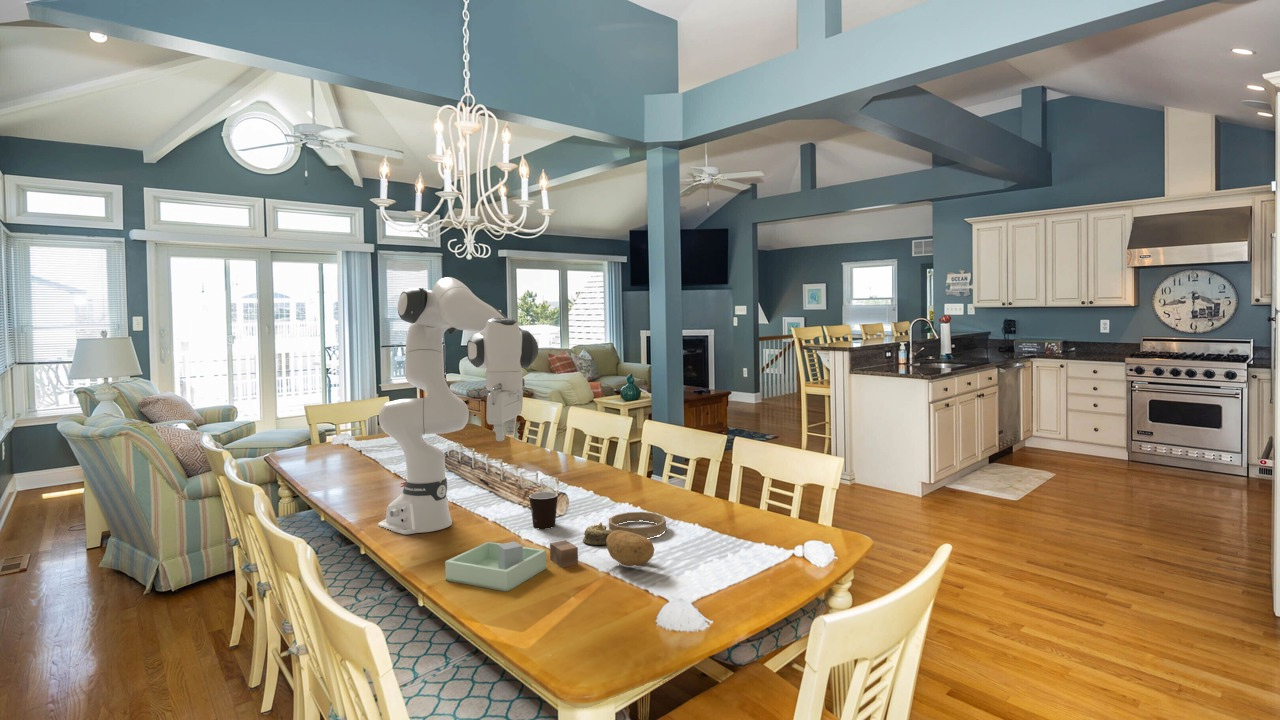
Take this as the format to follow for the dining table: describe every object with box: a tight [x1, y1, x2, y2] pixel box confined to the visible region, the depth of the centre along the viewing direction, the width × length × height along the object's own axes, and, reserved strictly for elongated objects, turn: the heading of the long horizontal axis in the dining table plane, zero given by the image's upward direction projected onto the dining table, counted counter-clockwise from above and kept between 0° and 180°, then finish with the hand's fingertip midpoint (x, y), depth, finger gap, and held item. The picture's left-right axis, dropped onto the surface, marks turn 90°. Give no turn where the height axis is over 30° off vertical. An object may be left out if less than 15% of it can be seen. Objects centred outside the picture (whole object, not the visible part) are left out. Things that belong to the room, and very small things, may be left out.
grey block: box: [498, 540, 523, 570], centre depth 154 cm, size 4×4×7 cm
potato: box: [606, 530, 655, 567], centre depth 161 cm, size 10×14×8 cm
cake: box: [582, 521, 613, 546], centre depth 181 cm, size 10×10×5 cm
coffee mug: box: [528, 491, 559, 530], centre depth 195 cm, size 12×9×10 cm
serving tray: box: [444, 541, 548, 593], centre depth 156 cm, size 18×16×5 cm
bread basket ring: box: [608, 511, 667, 538], centre depth 189 cm, size 17×17×4 cm
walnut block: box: [549, 539, 579, 569], centre depth 164 cm, size 4×4×7 cm
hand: (505, 437), depth 161 cm, fingers open, 8 cm apart
